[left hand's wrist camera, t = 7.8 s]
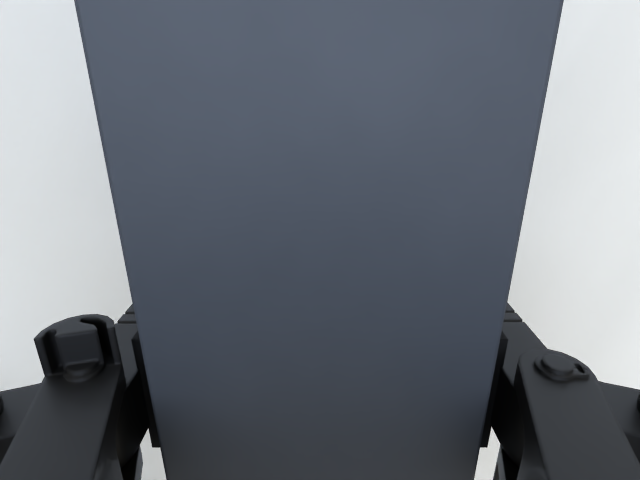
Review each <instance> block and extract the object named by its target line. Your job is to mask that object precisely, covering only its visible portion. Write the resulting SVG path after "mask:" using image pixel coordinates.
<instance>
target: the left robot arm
mask: <svg viewBox="0 0 640 480" xmlns="http://www.w3.org/2000/svg"><path fill="white" fill-rule="evenodd" d="M34 342H35V345H36V348H37V352H38V355H39V358H40V362H41V365H42V368H43V372H44V375H45V377H44V379H43V381H42V383H39V384H35V385H31V386H26V387H21V388H16V389H11V390H6V391H1V392H0V480H141V473H142V466H143V461H142V453H141V449H140V443H141V441H142V439H143V437H144V435H145V433H146V431H147V429H148V428H149V433H150V438H151V443H152V447H160V442H159V437H158V432H157V427H156V422H155V416H154V411H153V406H152V401H151V396H150V390H149V385H148V380H147V375H146V370H145V364H144V359H143V354H142V349H141V344H140V338H139V333H138V328H137V323H136V318H135V312H134V307H133V304H132V305H131V306H130V307H129V309H128V310H127V311H126V312H125V314H123V316H122V317H121V318H120V319H119V320H118V323H117V324H115V325H114V321H113V320H112V319H111V318H109V317H108V316H104V315H99V314H89V315H80V316H75V317H71V318H67V319H64V320H62V321H59V322H57V323H54V324H52V325H51V326H49V327H47V328H46V329H44V330H42V331H41V332H40V333H39V334H38V335H37V336H36V337H35V338H34ZM491 426H492V428H493V430H494V432H495V434H496V436H497V438H498V440H499V442H500V449H499V453H498V458H497V463H496V468H495V472H494V477H493V480H640V390H638V389H633V388H628V387H623V386H618V385H613V384H609V383H604V382H600V381H598V380H597V378H596V376H595V375H594V374H593V372H592V371H591V370H590V369H589V367H587V366H586V365H585V364H583V363H582V362H580V361H579V360H577V359H576V358H573V357H571V356H569V355H567V354H564V353H562V352H558V351H554V350H550V349H547V348H546V347H545V346H544V345H543V343H542V342H541V341H540V340H539V339H538V338H537V336H536V335H535V334H534V333H533V332H532V331H531V329H530V328H529V327H528V326H527V325H526V324H525V322H522V319H521V318H520V317H519V315H518V314H517V313H515V312H514V310H513V308H512V307H511V306H510V305H509V304H508V303H507V305H506V310H505V316H504V321H503V327H502V332H501V337H500V343H499V348H498V353H497V359H496V364H495V369H494V375H493V380H492V385H491V391H490V396H489V401H488V407H487V412H486V417H485V423H484V428H483V433H482V439H481V444H480V447H487V446H488V441H489V436H490V431H491Z"/></svg>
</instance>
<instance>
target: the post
mask: <svg viewBox="0 0 640 480" xmlns="http://www.w3.org/2000/svg"><path fill="white" fill-rule="evenodd" d="M74 1H75V6H76V11H77V17H78V22H79V27H80V32H81V37H82V42H83V48H84V53H85V58H86V63H87V68H88V74H89V79H90V84H91V89H92V94H93V100H94V105H95V110H96V115H97V120H98V126H99V131H100V136H101V141H102V146H103V152H104V157H105V162H106V167H107V172H108V177H109V183H110V188H111V193H112V198H113V203H114V209H115V214H116V219H117V224H118V229H119V235H120V240H121V245H122V250H123V255H124V261H125V266H126V271H127V276H128V281H129V287H130V292H131V297H132V302H133V307H134V312H135V318H136V323H137V328H138V333H139V338H140V344H141V349H142V354H143V359H144V364H145V370H146V375H147V380H148V385H149V390H150V396H151V401H152V406H153V411H154V416H155V422H156V427H157V432H158V437H159V442H160V447H161V453H162V458H163V463H164V468H165V473H166V479H167V480H474V476H475V471H476V465H477V460H478V455H479V449H480V444H481V439H482V433H483V428H484V423H485V417H486V412H487V407H488V401H489V396H490V391H491V385H492V380H493V375H494V369H495V364H496V359H497V353H498V348H499V343H500V337H501V332H502V327H503V321H504V316H505V310H506V305H507V300H508V294H509V289H510V284H511V278H512V273H513V268H514V262H515V257H516V252H517V246H518V241H519V236H520V230H521V225H522V220H523V214H524V209H525V204H526V198H527V193H528V188H529V182H530V177H531V172H532V166H533V161H534V156H535V150H536V145H537V140H538V134H539V129H540V124H541V118H542V113H543V108H544V102H545V97H546V92H547V86H548V81H549V76H550V70H551V65H552V60H553V54H554V49H555V44H556V38H557V33H558V28H559V22H560V17H561V12H562V6H563V1H564V0H74Z"/></svg>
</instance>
